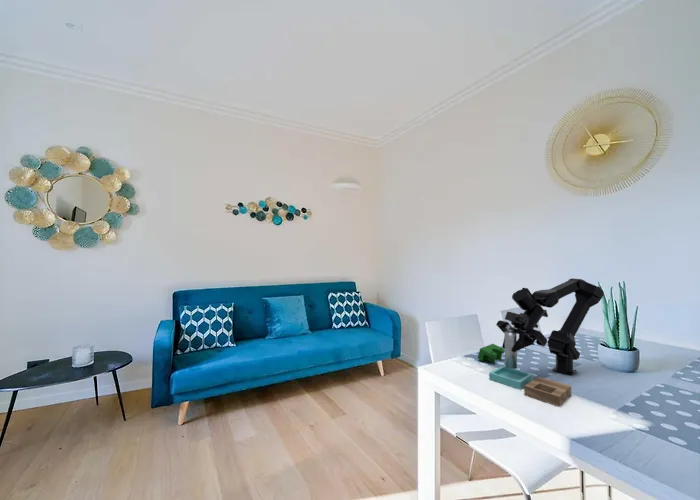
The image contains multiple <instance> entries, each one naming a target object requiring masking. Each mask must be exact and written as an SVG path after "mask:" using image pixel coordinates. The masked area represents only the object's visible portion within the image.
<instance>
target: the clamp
mask: <svg viewBox="0 0 700 500" xmlns="http://www.w3.org/2000/svg"><path fill="white" fill-rule="evenodd" d="M502 355H505V349H504V348H503V347H502V346H501V347H500V346H499V345H497V344H494V343H491V344H488V345H486V346H482V347H481V348H479V351H478V357H477V360H479V361H481V362H482V363H483V362H486V361H488V362H490V363H493V364H495V363H496V360H498V361H501V360H502Z"/></svg>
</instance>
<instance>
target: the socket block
mask: <svg viewBox="0 0 700 500" xmlns="http://www.w3.org/2000/svg"><path fill="white" fill-rule="evenodd" d="M523 389H524V392H523V393H524V396H527V397H530V398H533V399H535V400H539V401H542V402H544V403H548V404H550V405H552V406H553V405H554V406H556V407H560V406H562V404H564V403H565V402H566V401H567V400H568V399H569V398H571V396H572V385H569V384H566V383H563V382H559V381H555V380H551V379H548V378H545V377H541V376H536V378H533V380H532V381H531V382H529V383H528V384H526V385H525V386H524V387H523Z"/></svg>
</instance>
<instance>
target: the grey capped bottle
mask: <svg viewBox="0 0 700 500" xmlns="http://www.w3.org/2000/svg"><path fill="white" fill-rule="evenodd" d="M503 334H504V338H505V349H504V350H505V351H504V366H505V367H507V368H510V369H516V370H517V369H518V351H516V352H512V348H513V346H514V345H515V343H516V342H517V340H518V339H517V333H516V332H514V330H513V329H507V331H504V333H503ZM504 338H503V339H504Z"/></svg>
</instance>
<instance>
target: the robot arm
mask: <svg viewBox="0 0 700 500" xmlns="http://www.w3.org/2000/svg"><path fill="white" fill-rule="evenodd" d="M573 293H574V297H575V300H576V301H575V303H574V304H573V306H572V308H571V310H570V312H569V314H568V315H567V317H566V319H565V321H564V323H563V324H562V326H561V328H560V329H558V330H555V329H553V330H552V331H551V333H550V335H549V336H548V337H546V336H545V335H544V334H543V333H542V332H541V330H537V329H538V328H539V325H538V323H539V321H540V320H541V318H544V317H545V318H548V317H549V314H548V310H547V309H544V308H543V307H545V308H550V309H551V308H553V307H555V306H556V305H557V304H558V303H559V302H560V299H562V298H564V297H567V296H569V295H570V294H573ZM603 297H604V290H602V288H601V287H600V286H597V285H595V284H593V283H590V282H587V281H586V280H584V279H581V278H569V279H568V280H566V281H564V282H562V283H561V284H558V285H556V286H554V287H552V288H548V289H540V290H536V291H534V292H533V293H532V292H531V291H530V289H529V288H527V287H522V288H521V289H519V290H517V291H515V292H513V294H512V296H511V299H512V300H513V301H514V302H515V304H516V305H517V306H518V307H519V308H520V309H521V310H522V311H524V312H520V313H516V312H512V311H506V315H505V316H504V320H502V319H501V320H498V321H497V323H495V325H496V326H497V328H498V329H500V331H502V333H503V334H504V331H507V329H513V330H514V332H516V335H517V334H518V339H517V342H516V343H515V345H514V346H513V348H512V352H516V351H517V352H518V351H520V350H522V349H526V348H527V347H529V346H534V345H535V342H536V344H537V345H538V346H542V347H545V346H546V345H547V346H548V350H549V352H550V353H549V354H552V355H555V367H554V368H552V372H553V371H554V372H557V373H560V374H565V375H567V376H568V375H569V376H573V375H574V374H575V373H577V369H574V361H577V360H578V359H580V356H581V353H580V352H579V350H578V349H577V348H576V345H577V343H576V338H575V336H576V334H577V333H578V331H579V329H580V326H582V323H583V322H584V320H585V317H586V316H587V314H588V313H589V310H590V309H591V307H594V306H596V305H597V304H599V303H600V301H601V300H602V298H603ZM505 320H506V321H505ZM509 322H510V323H509ZM547 338H548V339H547ZM502 342H503V343H502V346H501V348H503V349H504V350H505V338H503V341H502Z"/></svg>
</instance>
